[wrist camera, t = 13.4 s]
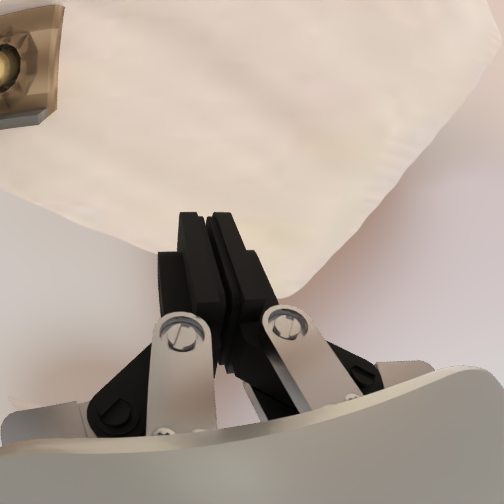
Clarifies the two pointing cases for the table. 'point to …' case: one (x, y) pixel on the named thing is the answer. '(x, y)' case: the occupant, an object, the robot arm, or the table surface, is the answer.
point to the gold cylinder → (9, 65)
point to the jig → (31, 65)
